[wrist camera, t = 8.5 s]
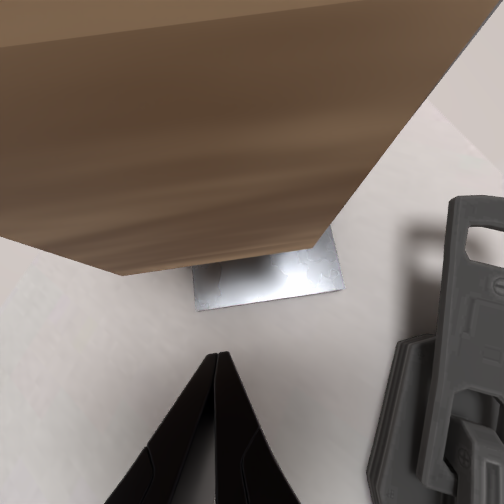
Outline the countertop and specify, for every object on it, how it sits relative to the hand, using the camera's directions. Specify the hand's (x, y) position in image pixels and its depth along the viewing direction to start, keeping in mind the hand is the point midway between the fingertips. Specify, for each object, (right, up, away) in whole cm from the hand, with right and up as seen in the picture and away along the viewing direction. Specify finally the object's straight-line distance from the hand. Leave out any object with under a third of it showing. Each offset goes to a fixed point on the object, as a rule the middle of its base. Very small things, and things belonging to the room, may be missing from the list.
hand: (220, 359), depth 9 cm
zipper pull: (+17, -5, +12) cm, 21 cm away
